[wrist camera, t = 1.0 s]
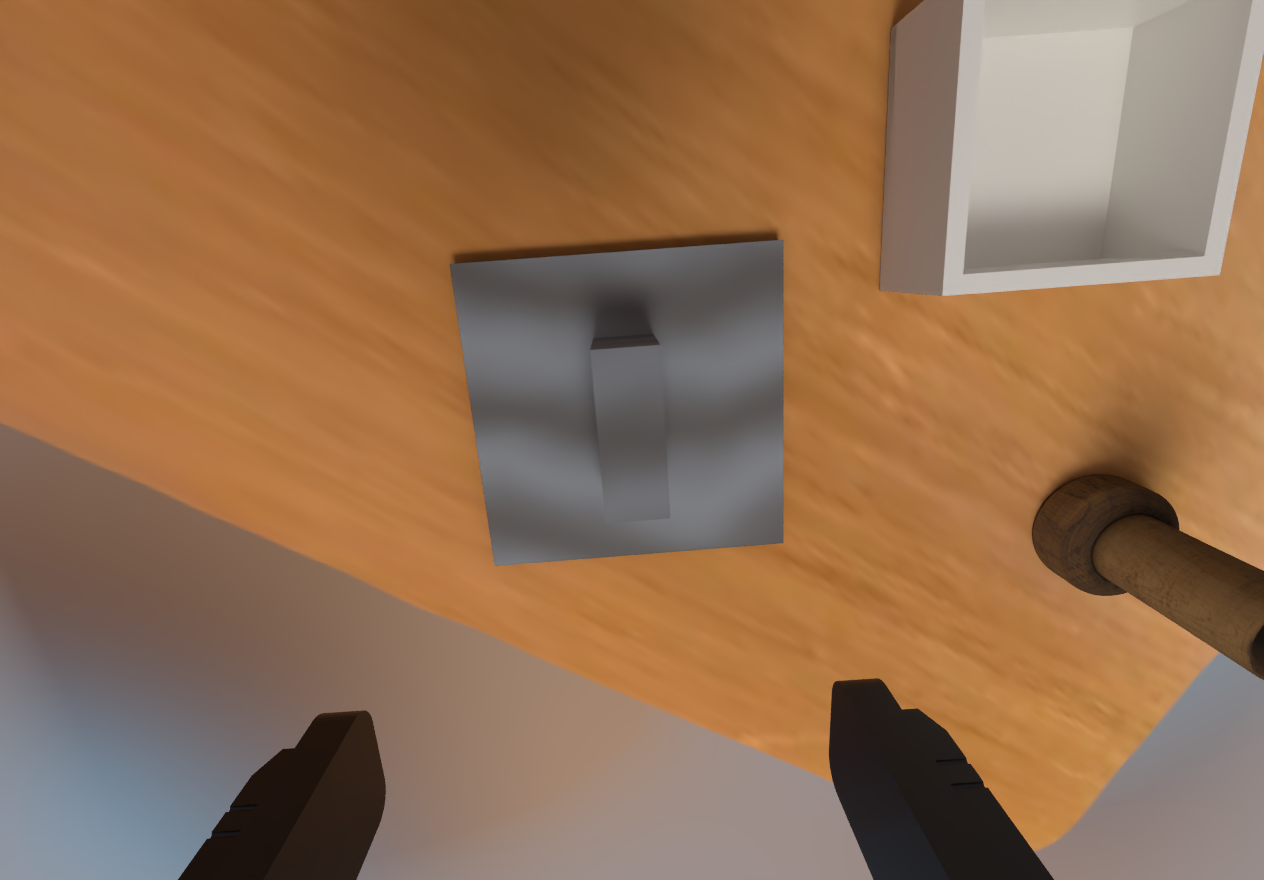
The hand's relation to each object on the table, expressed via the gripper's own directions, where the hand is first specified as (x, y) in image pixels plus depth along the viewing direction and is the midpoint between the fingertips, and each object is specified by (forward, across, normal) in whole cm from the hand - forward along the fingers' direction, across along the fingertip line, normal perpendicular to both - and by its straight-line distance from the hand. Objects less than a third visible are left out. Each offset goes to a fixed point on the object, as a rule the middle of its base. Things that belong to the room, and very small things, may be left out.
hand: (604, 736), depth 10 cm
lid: (+23, -1, 0) cm, 23 cm away
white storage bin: (+22, -20, -12) cm, 32 cm away
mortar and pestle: (+22, -27, +8) cm, 36 cm away
